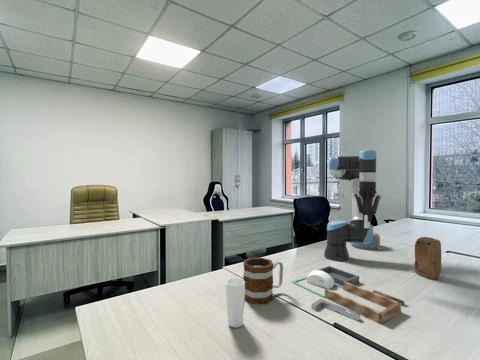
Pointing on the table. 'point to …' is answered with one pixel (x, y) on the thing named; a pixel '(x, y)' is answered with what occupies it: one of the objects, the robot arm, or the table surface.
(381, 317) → the wooden u-shaped frame
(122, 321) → the table surface
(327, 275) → the computer mouse
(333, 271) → the grey tray
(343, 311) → the grey l-shaped bar
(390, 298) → the walnut dowel
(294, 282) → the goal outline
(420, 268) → the block
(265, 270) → the mug
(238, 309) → the drinking glass
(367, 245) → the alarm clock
